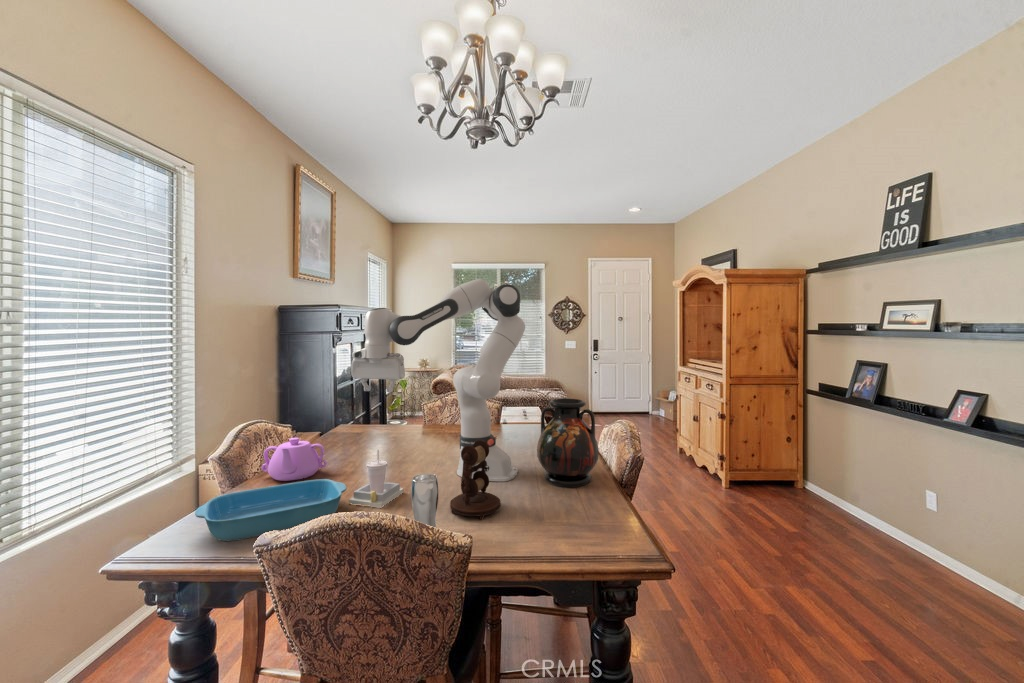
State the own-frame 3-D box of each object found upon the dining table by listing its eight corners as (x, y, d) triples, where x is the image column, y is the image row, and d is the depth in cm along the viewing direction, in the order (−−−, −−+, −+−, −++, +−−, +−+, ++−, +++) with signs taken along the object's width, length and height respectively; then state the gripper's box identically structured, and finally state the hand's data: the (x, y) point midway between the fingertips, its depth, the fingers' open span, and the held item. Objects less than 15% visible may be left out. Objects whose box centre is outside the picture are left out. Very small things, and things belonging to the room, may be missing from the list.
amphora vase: (530, 487, 147) (529, 404, 146) (544, 468, 167) (544, 395, 167) (594, 494, 140) (595, 407, 140) (601, 473, 161) (601, 397, 160)
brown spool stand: (467, 497, 138) (466, 434, 137) (509, 505, 132) (508, 439, 131) (440, 515, 125) (439, 446, 124) (485, 525, 118) (484, 452, 118)
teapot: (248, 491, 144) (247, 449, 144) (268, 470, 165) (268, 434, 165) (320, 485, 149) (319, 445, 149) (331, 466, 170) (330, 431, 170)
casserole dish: (338, 494, 141) (338, 473, 141) (354, 519, 123) (354, 494, 122) (198, 522, 121) (197, 496, 121) (192, 557, 103) (191, 527, 102)
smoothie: (376, 499, 133) (375, 453, 133) (362, 495, 136) (361, 450, 136) (392, 492, 138) (391, 448, 138) (378, 488, 142) (377, 445, 141)
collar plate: (403, 492, 142) (403, 479, 142) (380, 508, 130) (380, 493, 129) (374, 489, 145) (373, 476, 145) (349, 504, 133) (348, 490, 133)
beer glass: (432, 542, 109) (432, 483, 108) (406, 540, 110) (406, 481, 110) (442, 530, 116) (442, 473, 115) (418, 527, 117) (417, 472, 117)
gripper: (408, 352, 157) (408, 391, 157) (359, 352, 162) (359, 389, 163) (398, 353, 151) (399, 393, 151) (348, 353, 156) (348, 391, 157)
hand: (378, 391), depth 157 cm, fingers open, 8 cm apart
